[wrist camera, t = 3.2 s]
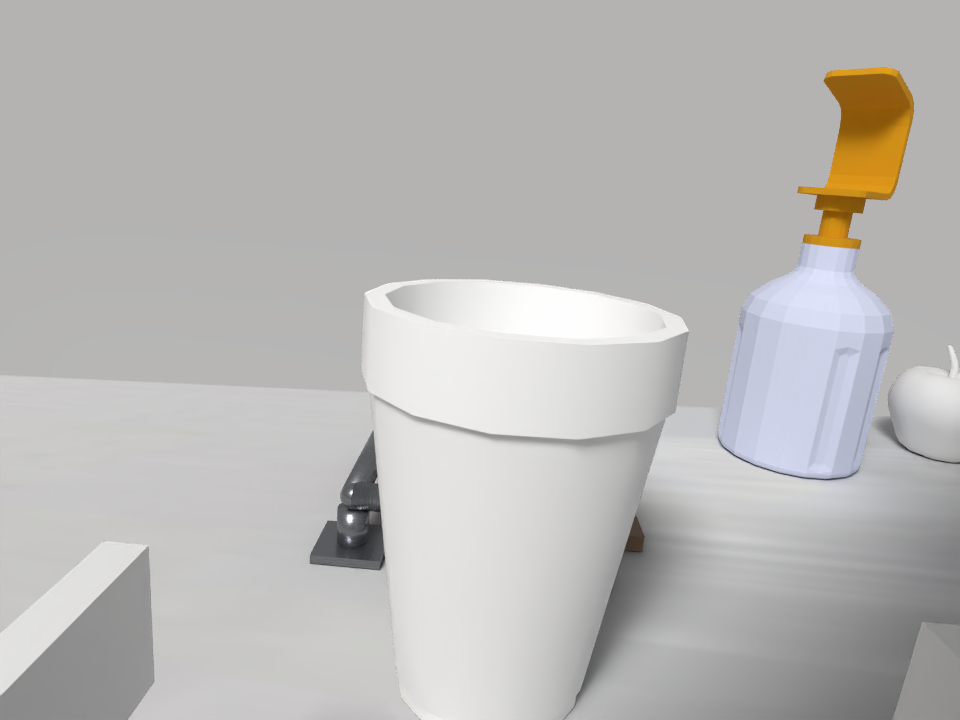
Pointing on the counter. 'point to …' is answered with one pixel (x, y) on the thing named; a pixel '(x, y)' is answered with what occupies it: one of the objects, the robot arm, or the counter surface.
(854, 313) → the soap bottle
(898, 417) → the plain white apple
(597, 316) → the foam cup
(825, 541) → the counter surface
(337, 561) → the rail
